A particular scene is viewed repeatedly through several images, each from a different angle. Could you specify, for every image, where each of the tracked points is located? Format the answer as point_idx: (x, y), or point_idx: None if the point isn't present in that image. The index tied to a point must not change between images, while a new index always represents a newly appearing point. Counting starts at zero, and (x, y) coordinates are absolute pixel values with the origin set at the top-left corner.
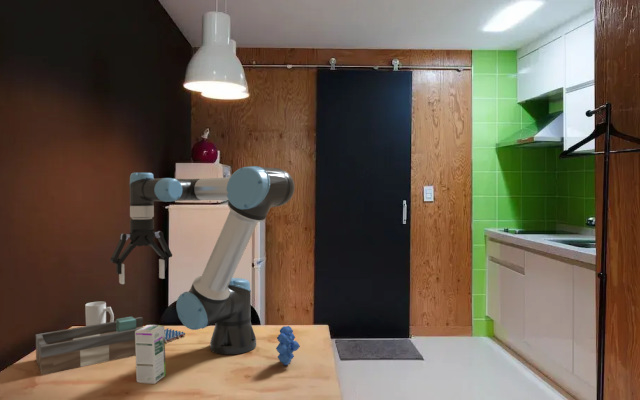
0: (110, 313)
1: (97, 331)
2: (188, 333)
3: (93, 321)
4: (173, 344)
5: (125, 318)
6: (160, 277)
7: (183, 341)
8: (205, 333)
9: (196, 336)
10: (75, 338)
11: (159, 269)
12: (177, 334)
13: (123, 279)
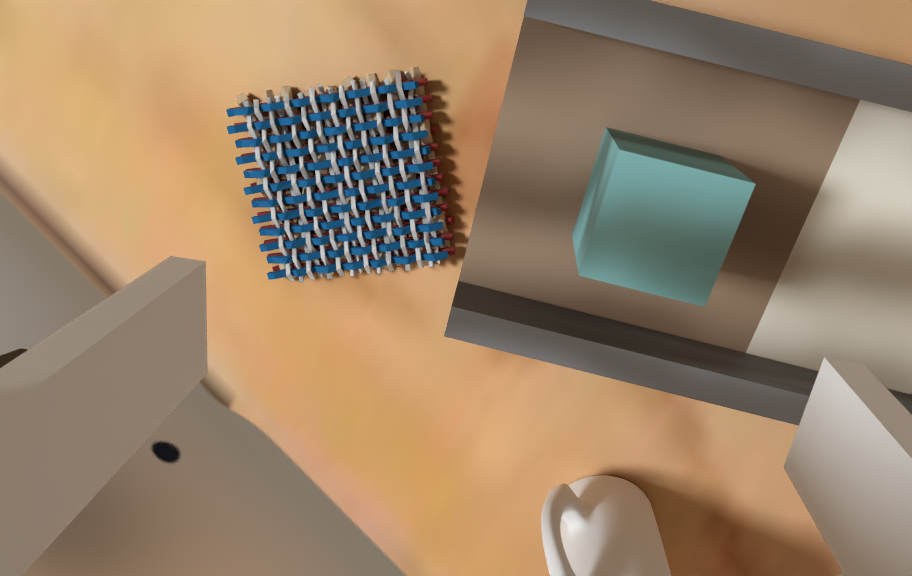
0: (563, 550)
1: (764, 366)
2: (192, 140)
3: (655, 561)
4: (376, 6)
5: (650, 261)
6: (202, 334)
7: (296, 8)
8: (103, 41)
9: (180, 33)
10: (896, 386)
11: (136, 439)
12: (286, 105)
13: (875, 400)
